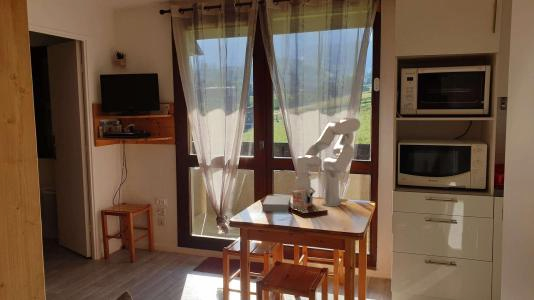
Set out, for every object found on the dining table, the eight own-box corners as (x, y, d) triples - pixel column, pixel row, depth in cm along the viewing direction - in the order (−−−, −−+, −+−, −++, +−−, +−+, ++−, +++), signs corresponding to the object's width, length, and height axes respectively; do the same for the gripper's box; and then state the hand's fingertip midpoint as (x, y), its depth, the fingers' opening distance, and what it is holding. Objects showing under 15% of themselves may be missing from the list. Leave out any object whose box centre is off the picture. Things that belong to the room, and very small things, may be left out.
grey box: (290, 203, 292) (290, 196, 292) (287, 212, 267) (287, 204, 266) (267, 202, 294) (267, 195, 294) (262, 211, 269) (262, 204, 268)
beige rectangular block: (303, 203, 289) (303, 185, 288) (312, 204, 286) (312, 186, 285) (292, 210, 270) (292, 191, 268) (302, 211, 267) (302, 192, 266)
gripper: (316, 175, 278) (316, 201, 279) (290, 174, 281) (290, 200, 282) (315, 176, 270) (315, 204, 272) (288, 176, 273) (288, 203, 275)
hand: (302, 202), depth 277 cm, fingers closed on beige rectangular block, 7 cm apart
